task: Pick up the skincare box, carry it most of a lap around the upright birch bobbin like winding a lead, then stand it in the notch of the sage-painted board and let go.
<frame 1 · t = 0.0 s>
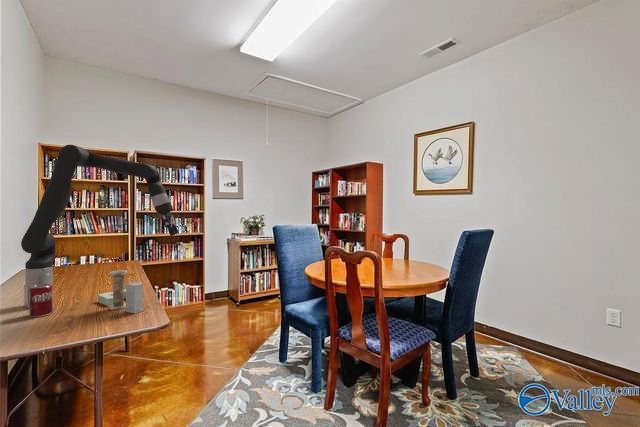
hand: (174, 234, 154), 31 cm above the table, tool tilted 20°, fingers open, 8 cm apart
bobbin: (118, 307, 138), on the table
skincare box: (134, 311, 133), on the table
soda can: (41, 315, 128), on the table
notched board: (119, 300, 148), on the table
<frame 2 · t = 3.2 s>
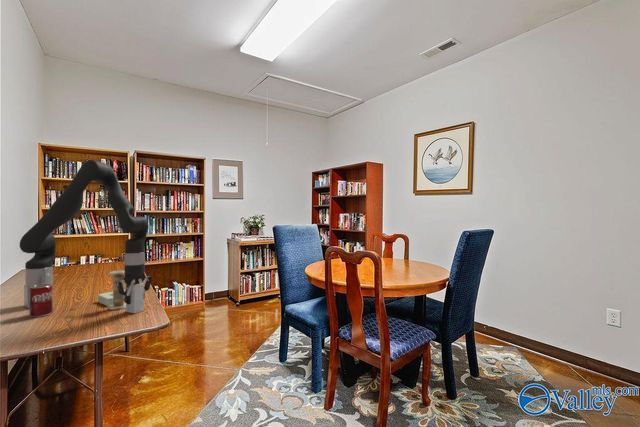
hand: (134, 302, 133), 4 cm above the table, tool pointing down, fingers closed on skincare box, 4 cm apart
skincare box: (134, 311, 133), on the table, touching gripper
everything else where it was.
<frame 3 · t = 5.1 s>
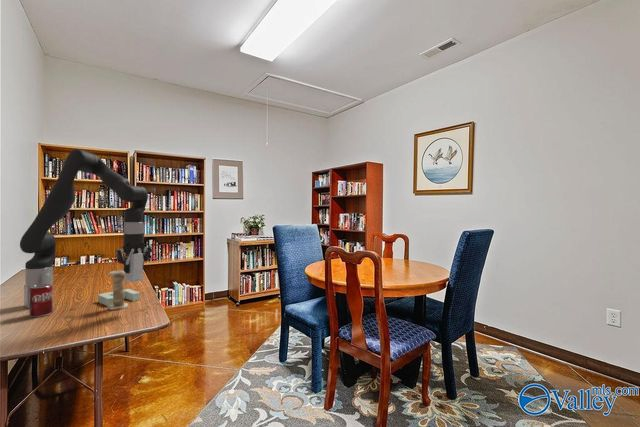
hand: (133, 272, 133), 17 cm above the table, tool pointing down, fingers closed on skincare box, 4 cm apart
skincare box: (133, 281, 133), point 13 cm above the table, touching gripper
everything else where it was.
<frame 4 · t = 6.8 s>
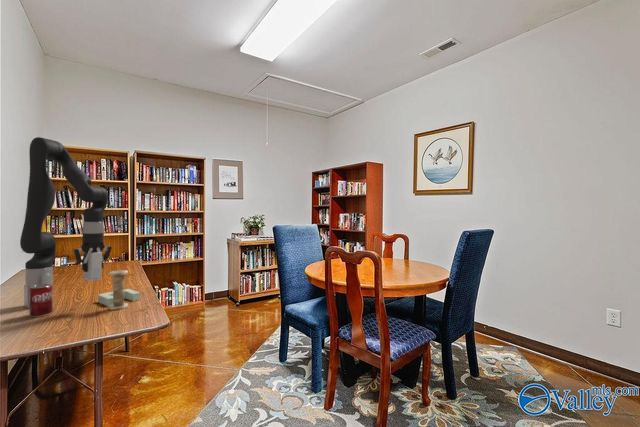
hand: (92, 270, 136), 17 cm above the table, tool pointing down, fingers closed on skincare box, 4 cm apart
skincare box: (92, 279, 136), point 13 cm above the table, touching gripper
everything else where it was.
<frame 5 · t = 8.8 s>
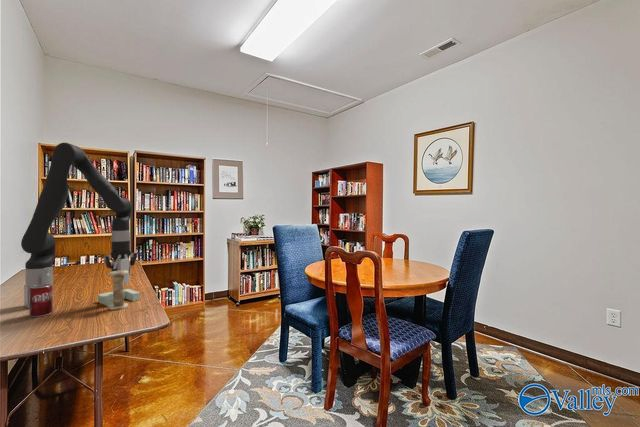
hand: (121, 275, 147), 12 cm above the table, tool pointing down, fingers closed on skincare box, 4 cm apart
skincare box: (121, 284, 147), point 8 cm above the table, touching gripper
everything else where it was.
when the fingers open (5 cm above the table, at t = 10.5 s): skincare box stays where it is, on the table.
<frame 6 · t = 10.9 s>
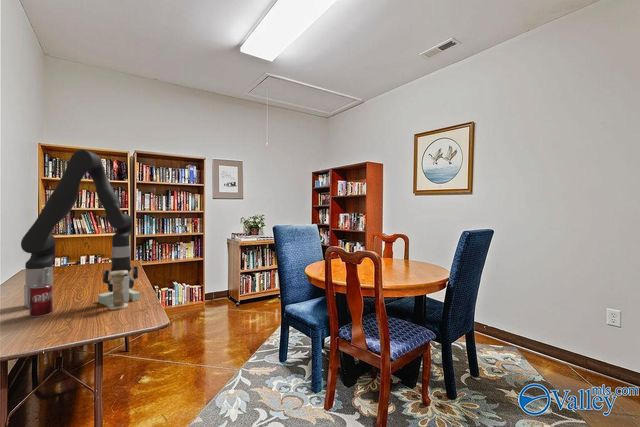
hand: (121, 289, 147), 6 cm above the table, tool pointing down, fingers open, 8 cm apart
skincare box: (121, 302, 147), on the table
everything else where it was.
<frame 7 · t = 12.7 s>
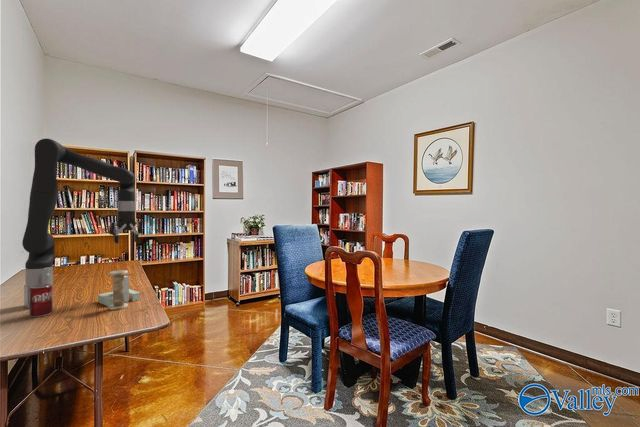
hand: (126, 242, 155), 27 cm above the table, tool pointing down, fingers open, 8 cm apart
nothing on the table moved.
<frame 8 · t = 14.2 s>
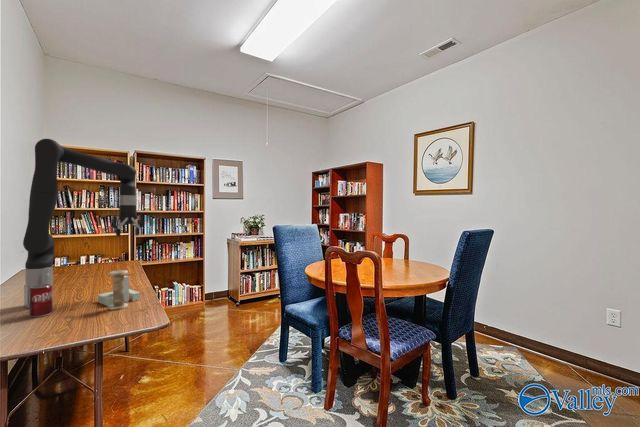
hand: (127, 236, 159), 30 cm above the table, tool pointing down, fingers open, 8 cm apart
nothing on the table moved.
at the end: skincare box inside the target area (0.1 cm from its centre), on the table; skincare box tilted 0°; the gripper is holding nothing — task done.
